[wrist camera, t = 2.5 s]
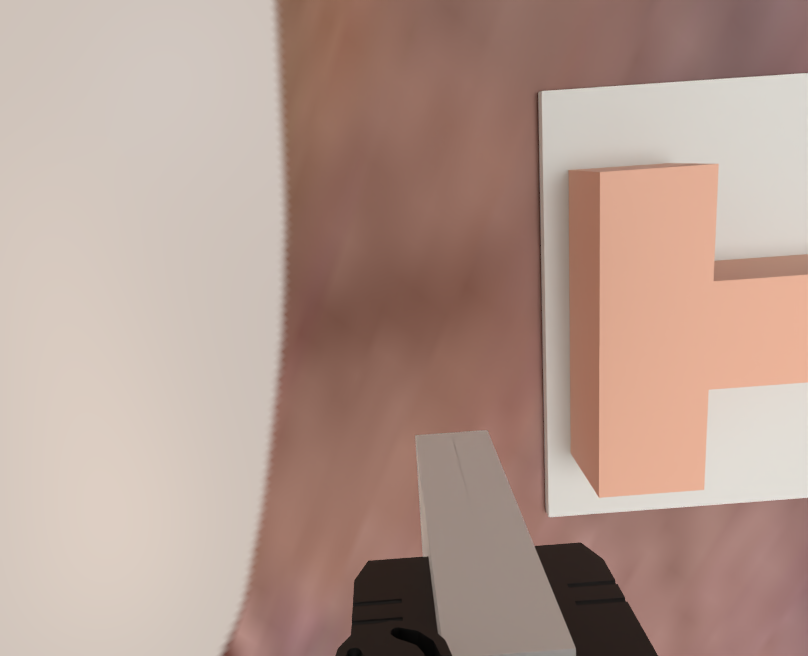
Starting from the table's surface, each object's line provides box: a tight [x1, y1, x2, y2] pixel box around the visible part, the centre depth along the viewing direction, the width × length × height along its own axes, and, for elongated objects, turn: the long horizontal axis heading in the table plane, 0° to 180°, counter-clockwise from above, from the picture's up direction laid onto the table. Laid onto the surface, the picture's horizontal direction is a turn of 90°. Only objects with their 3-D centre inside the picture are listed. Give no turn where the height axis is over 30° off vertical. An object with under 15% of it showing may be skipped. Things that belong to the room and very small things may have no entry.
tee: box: [568, 163, 808, 498], centre depth 26 cm, size 12×12×4 cm
